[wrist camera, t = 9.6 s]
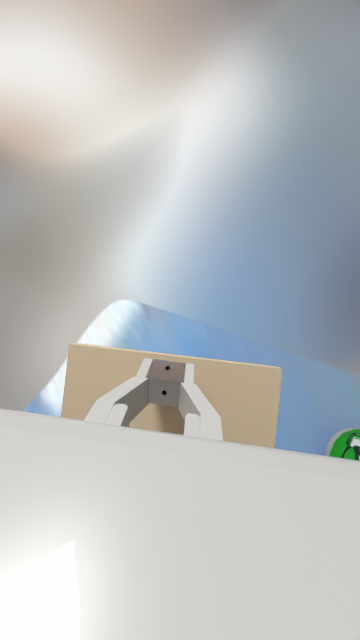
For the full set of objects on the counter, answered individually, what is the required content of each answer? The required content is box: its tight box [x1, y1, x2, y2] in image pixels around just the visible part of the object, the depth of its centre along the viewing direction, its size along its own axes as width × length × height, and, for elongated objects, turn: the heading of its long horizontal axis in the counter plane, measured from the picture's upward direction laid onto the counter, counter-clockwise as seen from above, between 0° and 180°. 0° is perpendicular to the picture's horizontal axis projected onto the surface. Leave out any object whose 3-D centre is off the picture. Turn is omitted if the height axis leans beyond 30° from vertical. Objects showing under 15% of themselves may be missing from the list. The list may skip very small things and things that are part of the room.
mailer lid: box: [61, 343, 282, 448], centre depth 12 cm, size 14×15×1 cm
